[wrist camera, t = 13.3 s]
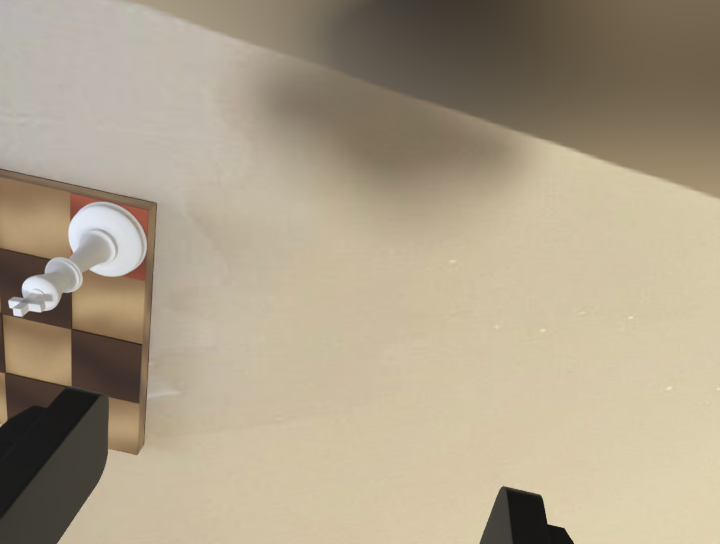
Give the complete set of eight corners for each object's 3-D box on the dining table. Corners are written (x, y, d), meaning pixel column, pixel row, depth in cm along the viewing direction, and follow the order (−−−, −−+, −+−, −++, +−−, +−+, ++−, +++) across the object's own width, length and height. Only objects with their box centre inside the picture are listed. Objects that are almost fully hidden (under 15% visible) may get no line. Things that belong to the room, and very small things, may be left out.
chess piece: (68, 196, 41) (-39, 261, 32) (145, 206, 40) (59, 274, 31) (76, 268, 43) (-22, 347, 34) (149, 278, 43) (69, 360, 34)
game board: (-144, 137, 42) (-162, 142, 41) (156, 203, 42) (147, 210, 41) (-106, 388, 51) (-120, 398, 50) (143, 445, 50) (136, 457, 49)
